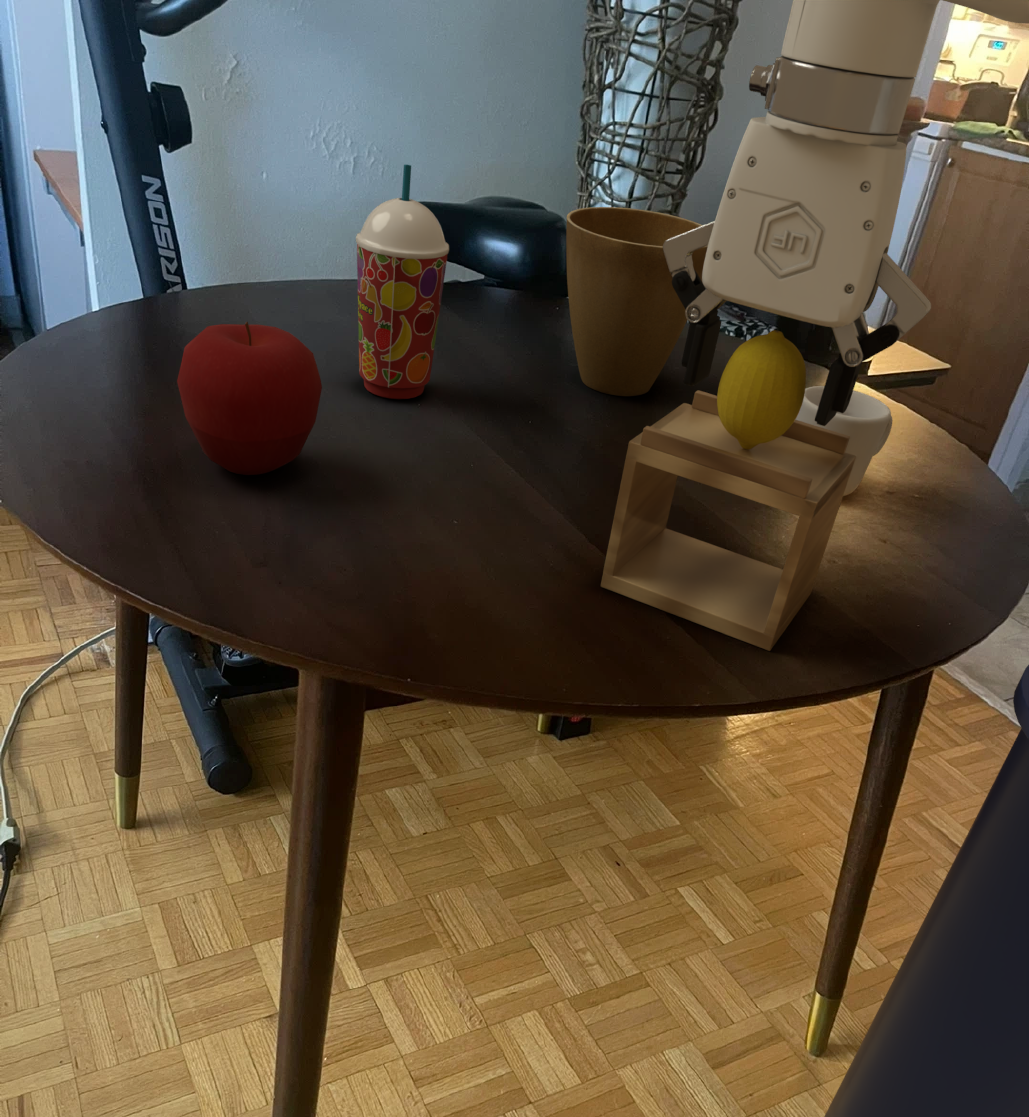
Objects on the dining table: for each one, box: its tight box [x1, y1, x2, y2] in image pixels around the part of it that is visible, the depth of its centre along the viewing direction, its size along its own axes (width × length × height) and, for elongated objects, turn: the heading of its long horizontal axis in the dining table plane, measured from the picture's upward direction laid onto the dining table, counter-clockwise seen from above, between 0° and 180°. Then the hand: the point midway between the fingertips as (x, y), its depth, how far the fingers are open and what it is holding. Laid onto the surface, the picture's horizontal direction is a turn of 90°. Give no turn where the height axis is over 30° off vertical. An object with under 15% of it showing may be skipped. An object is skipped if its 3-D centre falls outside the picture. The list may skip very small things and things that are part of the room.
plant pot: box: [565, 206, 708, 397], centre depth 108 cm, size 15×15×16 cm
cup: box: [795, 385, 894, 497], centre depth 96 cm, size 11×8×8 cm
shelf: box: [600, 390, 856, 652], centre depth 75 cm, size 13×10×12 cm
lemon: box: [716, 329, 807, 449], centre depth 70 cm, size 6×6×8 cm
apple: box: [176, 320, 323, 476], centre depth 83 cm, size 11×11×12 cm
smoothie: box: [355, 163, 450, 400], centre depth 98 cm, size 8×8×20 cm
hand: (759, 398), depth 70 cm, fingers open, 8 cm apart
